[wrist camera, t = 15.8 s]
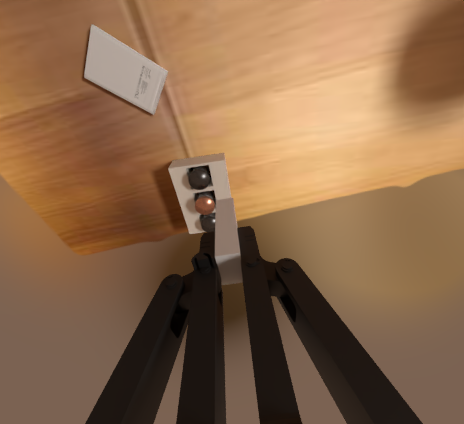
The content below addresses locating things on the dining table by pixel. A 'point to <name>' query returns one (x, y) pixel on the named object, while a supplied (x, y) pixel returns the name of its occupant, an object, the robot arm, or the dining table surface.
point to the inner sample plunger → (199, 177)
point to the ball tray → (189, 195)
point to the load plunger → (205, 203)
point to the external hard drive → (123, 70)
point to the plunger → (208, 222)
